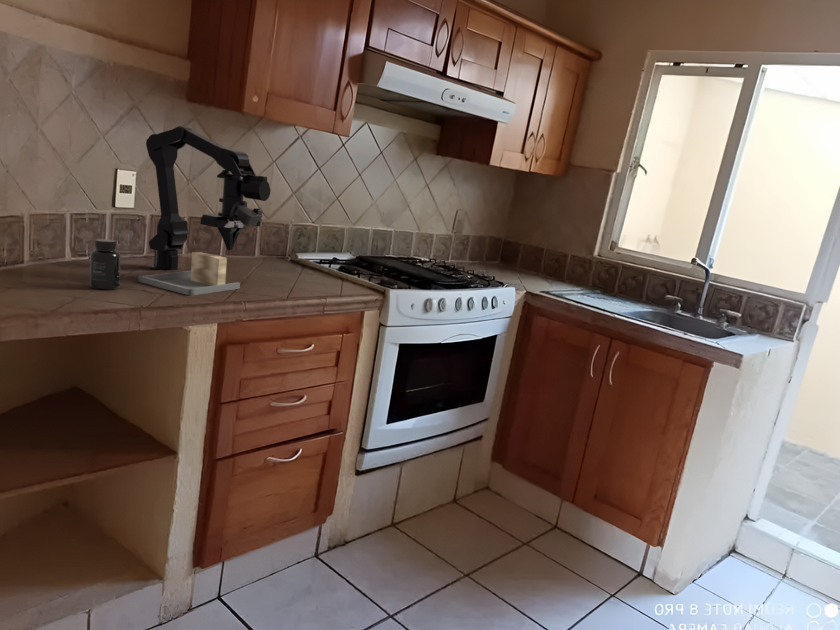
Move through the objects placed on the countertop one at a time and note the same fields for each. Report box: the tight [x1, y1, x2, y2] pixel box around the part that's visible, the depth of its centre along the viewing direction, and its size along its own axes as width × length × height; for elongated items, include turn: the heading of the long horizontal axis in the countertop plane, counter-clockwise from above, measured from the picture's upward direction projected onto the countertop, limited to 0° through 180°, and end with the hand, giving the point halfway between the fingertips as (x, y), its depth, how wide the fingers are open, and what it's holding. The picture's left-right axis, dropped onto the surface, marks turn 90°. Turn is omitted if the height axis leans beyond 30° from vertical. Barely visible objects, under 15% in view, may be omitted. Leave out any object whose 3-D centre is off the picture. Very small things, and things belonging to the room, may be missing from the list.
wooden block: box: [190, 251, 228, 286], centre depth 174 cm, size 10×3×8 cm, turn 64°
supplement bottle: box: [89, 238, 121, 291], centre depth 156 cm, size 7×7×12 cm
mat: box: [137, 270, 241, 297], centre depth 170 cm, size 19×18×2 cm
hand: (229, 250), depth 180 cm, fingers closed
